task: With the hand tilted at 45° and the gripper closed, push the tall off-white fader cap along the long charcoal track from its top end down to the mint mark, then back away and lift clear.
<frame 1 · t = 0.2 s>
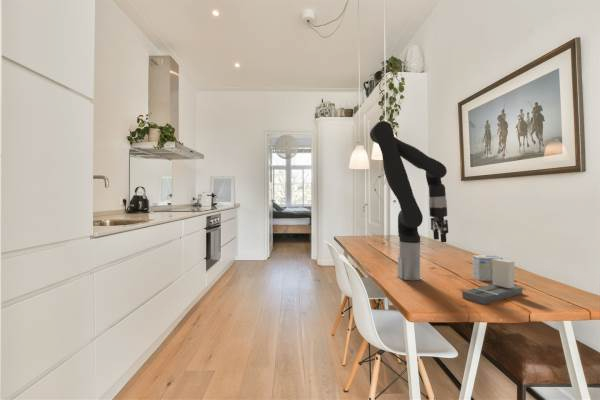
hand: (439, 240, 139), 18 cm above the table, tool pointing down, fingers open, 8 cm apart
fader cap: (503, 273, 118), point 8 cm above the table, slide at 16.0 cm
light bulb box: (487, 279, 138), on the table
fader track: (493, 295, 115), on the table
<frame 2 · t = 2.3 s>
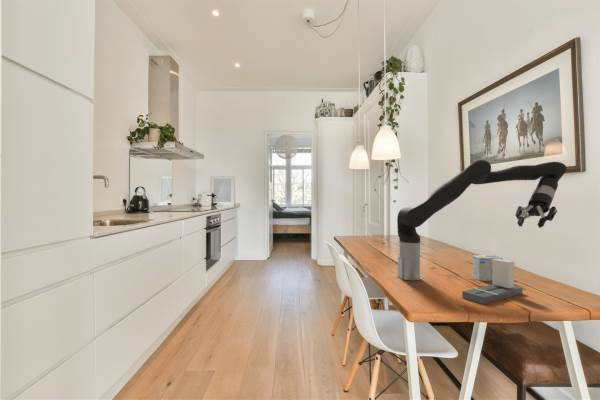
hand: (529, 225, 126), 26 cm above the table, tool tilted 45°, fingers open, 6 cm apart
nothing on the table moved.
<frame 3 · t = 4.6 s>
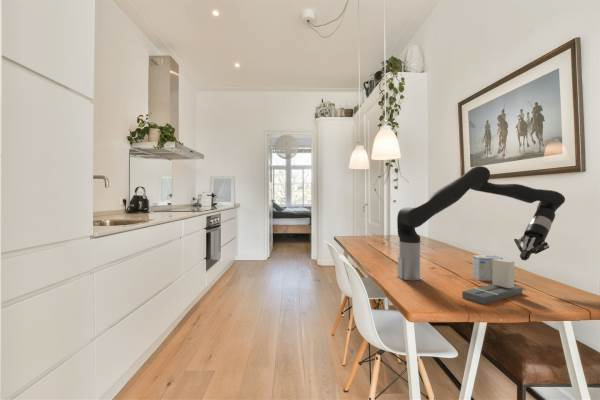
hand: (523, 259, 124), 12 cm above the table, tool tilted 45°, fingers closed
nothing on the table moved.
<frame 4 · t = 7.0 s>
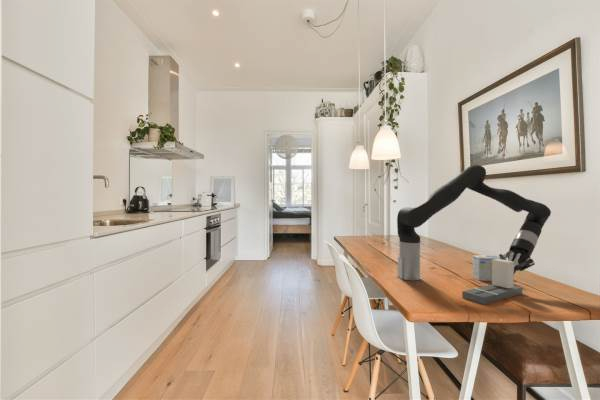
hand: (507, 276, 119), 7 cm above the table, tool tilted 45°, fingers closed
fader cap: (502, 273, 118), point 8 cm above the table, slide at 15.6 cm, touching gripper
everything else where it was.
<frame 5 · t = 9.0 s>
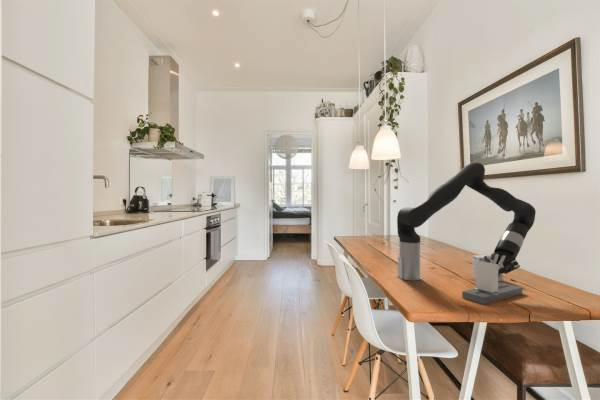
hand: (491, 279, 114), 7 cm above the table, tool tilted 45°, fingers closed
fader cap: (486, 276, 113), point 8 cm above the table, slide at 4.7 cm, touching gripper
everything else where it was.
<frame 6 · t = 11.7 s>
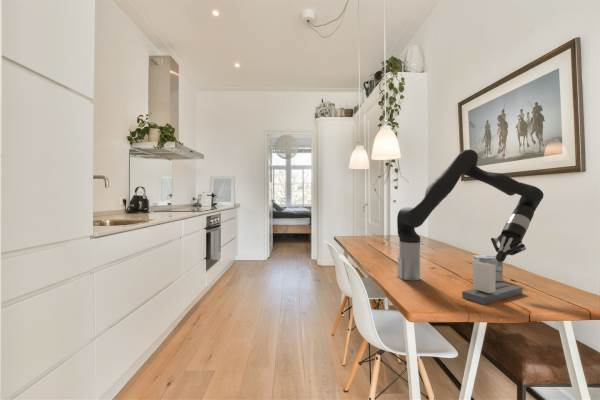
hand: (498, 260, 120), 13 cm above the table, tool tilted 40°, fingers closed
fader cap: (484, 277, 112), point 8 cm above the table, slide at 3.0 cm
everything else where it was.
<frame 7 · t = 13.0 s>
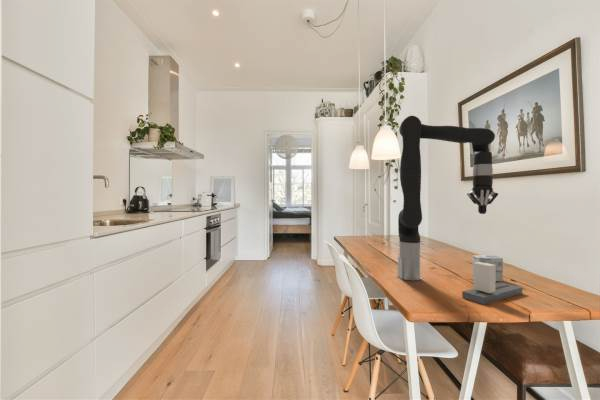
hand: (482, 213, 132), 31 cm above the table, tool pointing down, fingers closed
nothing on the table moved.
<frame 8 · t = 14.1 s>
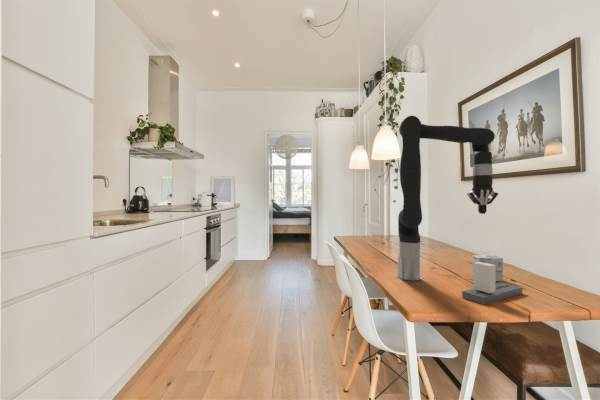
hand: (482, 213, 132), 31 cm above the table, tool pointing down, fingers closed
nothing on the table moved.
at the end: fader cap slide at 3.0 cm; light bulb box moved 0.3 cm from its start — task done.
